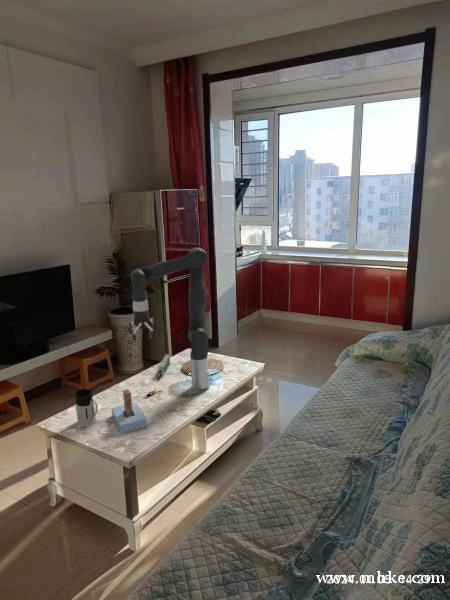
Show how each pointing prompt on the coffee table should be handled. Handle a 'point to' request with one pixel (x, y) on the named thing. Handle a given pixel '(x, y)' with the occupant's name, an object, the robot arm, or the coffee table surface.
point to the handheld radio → (164, 366)
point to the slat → (127, 403)
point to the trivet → (211, 365)
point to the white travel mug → (85, 408)
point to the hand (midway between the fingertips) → (143, 339)
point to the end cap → (129, 418)
